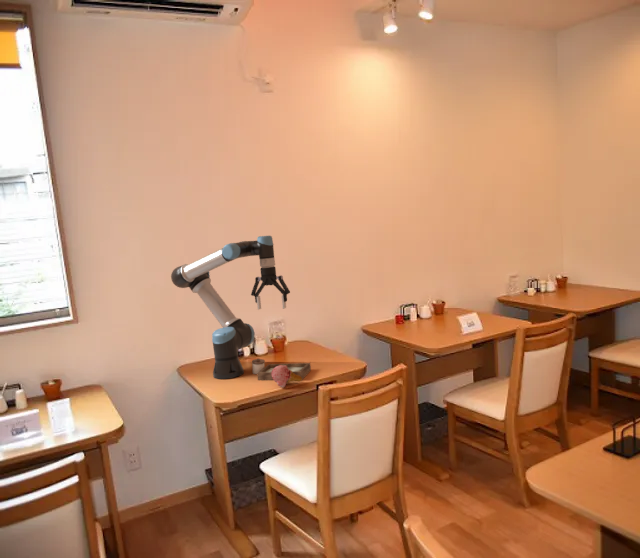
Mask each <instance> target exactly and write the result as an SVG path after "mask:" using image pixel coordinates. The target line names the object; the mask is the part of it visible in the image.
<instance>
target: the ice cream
mask: <svg viewBox="0 0 640 558" xmlns="http://www.w3.org/2000/svg"><path fill="white" fill-rule="evenodd" d="M271 375H272V378H273V380H272V381H274V382H275V383H276V385H277V386H278V387H280V388H285V387H286V386H287V384H289V383H291V382H299V383H300V382H301V381H303V379H302V377H301V376H299V375H296V374H294V373H293V372H292V371H291V370H288V368H287V366H285V365H284V366H283V365H279V366H276V367H275V368H274V369H273V370H272V373H271Z"/></svg>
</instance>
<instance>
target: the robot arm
mask: <svg viewBox="0 0 640 558" xmlns="http://www.w3.org/2000/svg"><path fill="white" fill-rule="evenodd" d="M253 256H258V257H259V267H260V275H261V276H256V277H255V279H254V280H255V281H254V284H253V287H252V290H251V294H250V295H251V296H252V297H254V301H255V303H256V304H257V310H258V311H259V310H261V309H262V303H261V302H262V301H261V296H260V294H261V292H262V291H263V289H264V287H266V286H274V287H275V288H276V289H277V290H278V291H279V292H280V294H281V305H282V309H287V301H288V296H287V295H289V294H290V293H291V291H290V289H289V287H288V286H287V284H286V282H285V281H284V277H283V275H281V274H280V275H277V270H276V259H275V251H274V240H273V236H272V235H262V236H261V235H260V236H257V238H256V240H244V241H242V240H241V241H239V242H231V243H227V244H224V246H222V247H221V248H220V249H218V250H215V251H214V252H210V254H208V255H205V256H203V257H201V258H199V259H197V260H195V261H193V262H191V263H189V264H187V263H184V264H182V265H180V266H179V265H178V266H176V268H174V269H173V270H172V272H171V275H170V277H171V282H172V284H173V285H174V286H176V287H177V288H180V289H186V288H189V289H190V291H191V292H192V293H194V294H197V295H198V296H199V298H200V299H201V300H202V302H203V303H204V304H205V306H206V307H207V308H208V309H209V311H210V312H211V313H212V315H213V316H214V318H215V320H217V322H218V323H219V325H221V328H217V329H216V330H214V331H213V332H212V335H211V336H212V337H211V339H212V340H211V342H212V346H213V354H214V365H213V371H212V375H213V379H217V380H226V379H233V378H238V377H239V376H243V374H244V368H243V366H242V363H241V361H240V358H239V352H238V351H239V350H242V349H243V348H246V347H248V346H249V345H251V344H252V343H253V342H254V340H255V330H254V327H253V326H252V325H250V324H249V323H245V322H244V321H243V320H242V319H241V318H238V317H236V316H235V314H234V313H233V312H232V310H231V308H230V307H229V306H228V305H227V304H226V302H225V301H224V299H223V298H222V297H221V295H220V294H219V293H218V292H217V291H216V289H215V288H214V287H213V285H212V284H211V281H212V280H211V278H210V277H211V276H210V275H211V274H210V271H213V270H215V269H216V268H217V269H218V268H219V267H221V266H224V265H225V264H227V263H229V262H232V261H234V260H236V259H239V258H246V257H253ZM277 280H278V281H279V282H278V281H277ZM260 282H261V284H260ZM279 283H280V284H279ZM259 284H260V286H259ZM258 287H259V288H258Z"/></svg>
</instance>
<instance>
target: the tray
mask: <svg viewBox="0 0 640 558" xmlns="http://www.w3.org/2000/svg"><path fill="white" fill-rule="evenodd" d="M279 365H283V366H284V365H285V366H287V368H288V370H291V371H292V372H293V373H294V374H296V375H299V376H301V377H302V380H304V378H306V376H307V375H308V374H309V373H310V372H311V370H312V368H311V362H303V363H301V362H300V363H299V362H298V363H269V364H267V365H266V366H264V368H263V369H262V370H261V371H259V372H258V373H257V374H256V375H257V381H274V380H273V378H272V375H271V373H272V370H273V369H274V368H275V367H276V366H279Z"/></svg>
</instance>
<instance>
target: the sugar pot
mask: <svg viewBox="0 0 640 558" xmlns="http://www.w3.org/2000/svg"><path fill="white" fill-rule="evenodd" d="M265 362H266V361H265V359H261V358H256V359H253V360H252V361H251V364H252V374H253V375H257V373H258V372H259V371H261V370H262V369H263V368H265Z"/></svg>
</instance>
